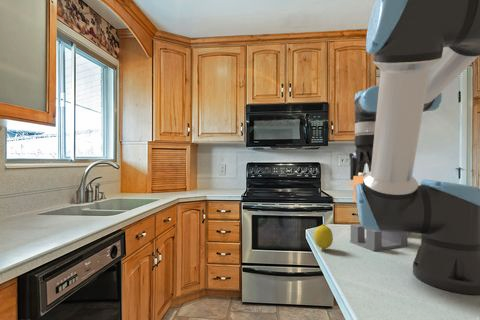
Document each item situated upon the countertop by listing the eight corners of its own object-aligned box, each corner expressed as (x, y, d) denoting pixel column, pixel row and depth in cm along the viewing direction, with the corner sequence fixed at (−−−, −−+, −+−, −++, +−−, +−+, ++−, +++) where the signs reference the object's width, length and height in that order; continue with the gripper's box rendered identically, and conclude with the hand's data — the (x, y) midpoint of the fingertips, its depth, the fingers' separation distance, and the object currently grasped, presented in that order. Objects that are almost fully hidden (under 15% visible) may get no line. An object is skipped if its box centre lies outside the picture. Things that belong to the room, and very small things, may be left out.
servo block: (384, 201, 97) (384, 172, 97) (359, 203, 92) (359, 172, 93) (372, 200, 102) (372, 172, 102) (347, 201, 97) (347, 172, 97)
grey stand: (408, 245, 91) (408, 227, 91) (374, 251, 85) (374, 231, 85) (382, 237, 100) (382, 221, 100) (350, 242, 95) (350, 224, 95)
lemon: (310, 248, 88) (310, 223, 88) (325, 246, 90) (325, 222, 90) (321, 253, 83) (321, 227, 83) (336, 251, 85) (336, 225, 85)
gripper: (396, 132, 91) (397, 203, 90) (354, 138, 107) (354, 198, 107) (380, 131, 88) (380, 204, 87) (339, 137, 105) (339, 198, 104)
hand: (366, 200), depth 97 cm, fingers closed on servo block, 5 cm apart
